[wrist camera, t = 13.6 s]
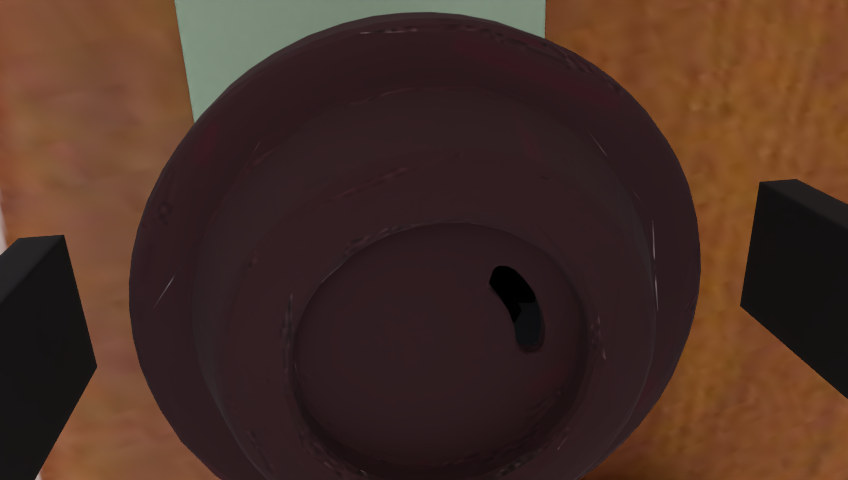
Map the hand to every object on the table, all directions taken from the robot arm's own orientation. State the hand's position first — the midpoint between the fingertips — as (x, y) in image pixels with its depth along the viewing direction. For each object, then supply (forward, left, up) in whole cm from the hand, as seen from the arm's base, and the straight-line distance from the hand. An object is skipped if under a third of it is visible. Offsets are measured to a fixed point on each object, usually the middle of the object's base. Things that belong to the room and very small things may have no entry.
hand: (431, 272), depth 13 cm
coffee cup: (0, 0, -12) cm, 12 cm away
